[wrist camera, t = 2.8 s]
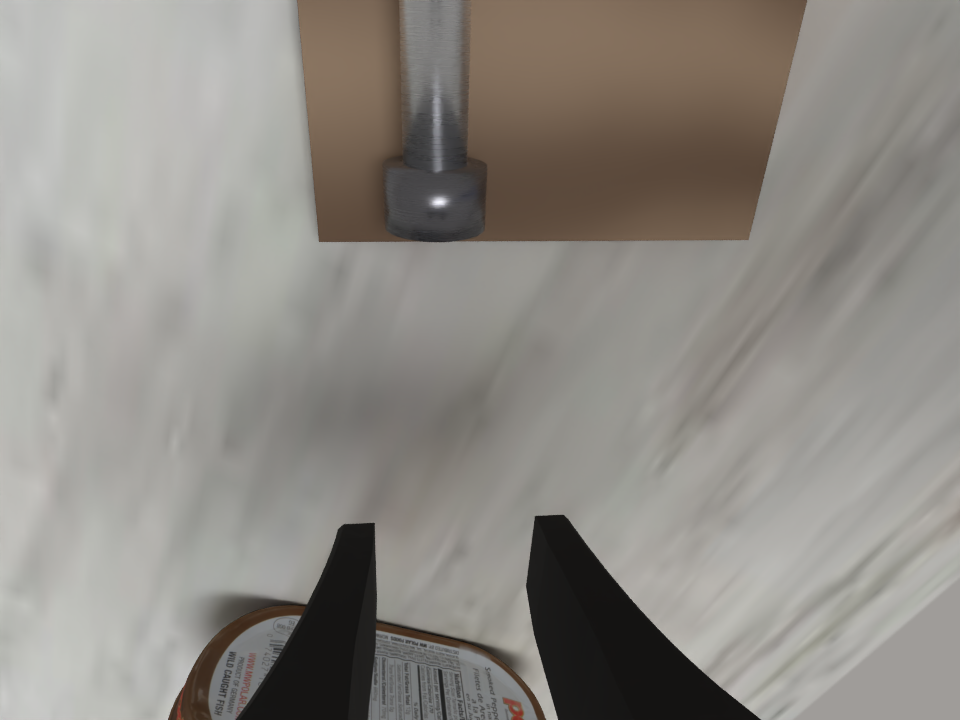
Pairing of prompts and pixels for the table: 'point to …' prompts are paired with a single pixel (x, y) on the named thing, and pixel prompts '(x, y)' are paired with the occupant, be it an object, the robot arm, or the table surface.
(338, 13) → the walnut base with seat
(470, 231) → the steel shaft
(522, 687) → the tin
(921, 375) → the table surface
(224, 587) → the table surface
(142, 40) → the table surface
